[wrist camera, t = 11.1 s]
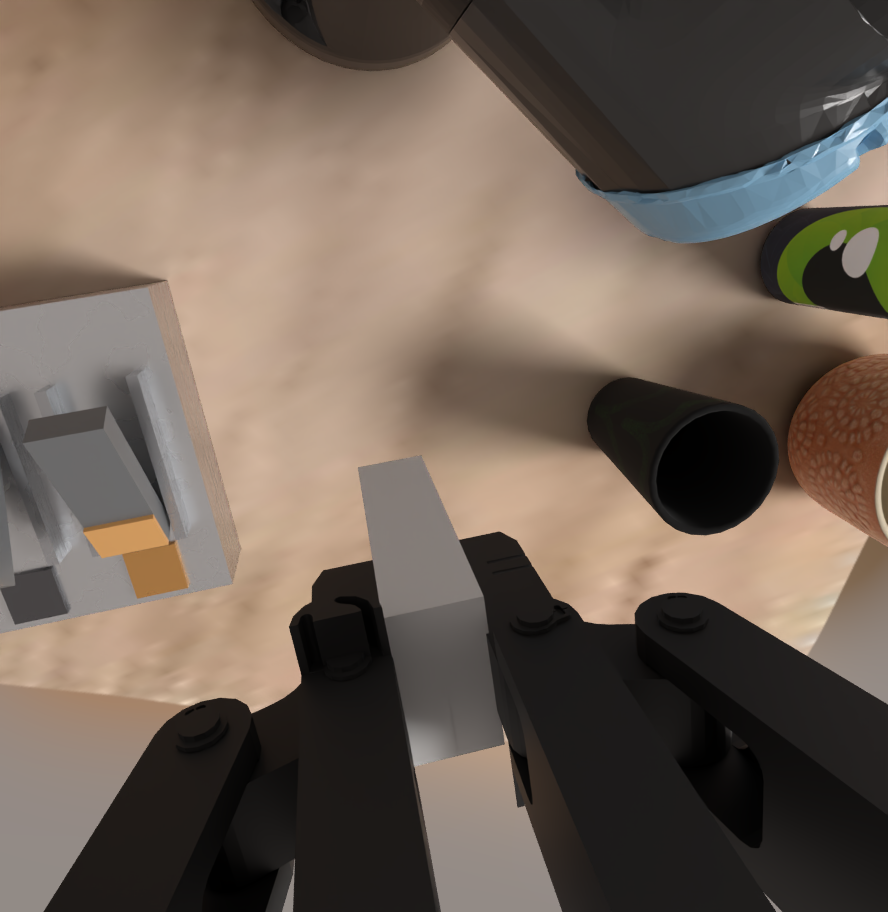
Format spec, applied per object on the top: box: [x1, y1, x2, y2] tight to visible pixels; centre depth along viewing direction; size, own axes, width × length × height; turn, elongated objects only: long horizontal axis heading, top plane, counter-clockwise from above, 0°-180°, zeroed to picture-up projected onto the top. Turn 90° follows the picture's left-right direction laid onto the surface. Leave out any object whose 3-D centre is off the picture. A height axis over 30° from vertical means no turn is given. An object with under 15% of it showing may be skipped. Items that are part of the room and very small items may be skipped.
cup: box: [587, 378, 779, 535], centre depth 43 cm, size 8×8×12 cm
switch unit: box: [0, 281, 241, 633], centre depth 40 cm, size 18×22×6 cm
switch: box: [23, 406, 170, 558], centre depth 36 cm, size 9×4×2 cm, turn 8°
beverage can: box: [760, 205, 888, 319], centre depth 40 cm, size 6×6×15 cm
